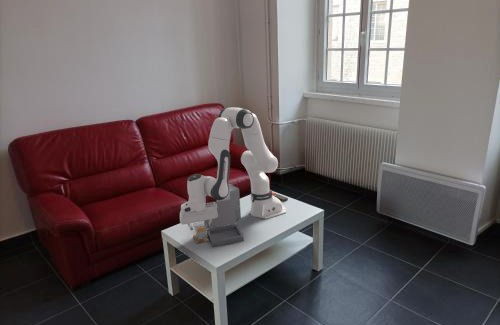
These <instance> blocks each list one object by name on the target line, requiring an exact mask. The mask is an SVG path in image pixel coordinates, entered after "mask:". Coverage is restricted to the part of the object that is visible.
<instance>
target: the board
mask: <svg viewBox="0 0 500 325" xmlns="http://www.w3.org/2000/svg"><path fill="white" fill-rule="evenodd" d="M206 236H207V239H204V240H199V241H197V238H196V233H195V234H193V239H194V241H195V244H196V245H198V244H199V245H200V244H205V243H209V242H210V240H209V237H208V235H207V233H206Z"/></svg>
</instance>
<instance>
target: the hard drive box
mask: <svg viewBox="0 0 500 325" xmlns="http://www.w3.org/2000/svg"><path fill="white" fill-rule="evenodd" d="M229 199H232V200H233V206H234V212H235V219H236V221H238V220H241V219H242V216H241V215H242V213H241V199H240V188H239V187H236V186H234V185H233V184H230V183H229V193H228V195H227V197H226V198H224V199H223V200H229ZM215 200H216V199H215ZM223 200H220V201H223ZM217 201H218V200H216V201H215V202H217Z"/></svg>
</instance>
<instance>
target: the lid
mask: <svg viewBox="0 0 500 325" xmlns="http://www.w3.org/2000/svg"><path fill="white" fill-rule="evenodd" d="M214 202H215V203H217V213H218V217H217V218H216V219H212V222H211V224H210V227H207V223H208V222H209V220H205V221H204V223H205V226H206V230H210V229H216V228H221V227H226V226H231V225H237V220H236V219H235V212H234V206H233V200H232V199H229V200H223V201H214ZM215 203H214V204H215Z"/></svg>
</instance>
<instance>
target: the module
mask: <svg viewBox="0 0 500 325" xmlns="http://www.w3.org/2000/svg"><path fill="white" fill-rule="evenodd" d="M193 224H194V231H195V234H196V238H197V241H199V240H204V239H207V236H208V235H207V236H206V234H207V229H206V222H205V221H200V222H194V223H193Z"/></svg>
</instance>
